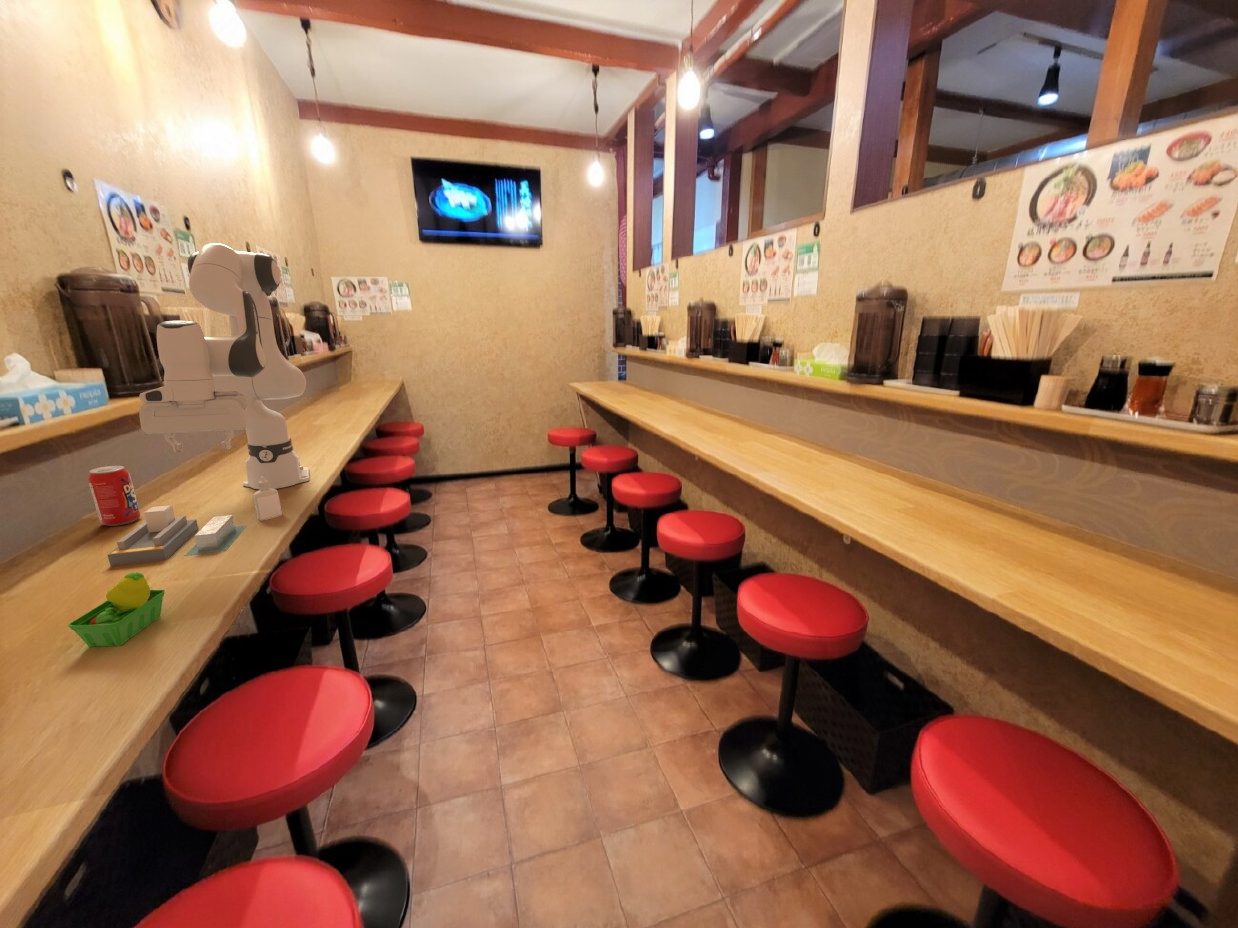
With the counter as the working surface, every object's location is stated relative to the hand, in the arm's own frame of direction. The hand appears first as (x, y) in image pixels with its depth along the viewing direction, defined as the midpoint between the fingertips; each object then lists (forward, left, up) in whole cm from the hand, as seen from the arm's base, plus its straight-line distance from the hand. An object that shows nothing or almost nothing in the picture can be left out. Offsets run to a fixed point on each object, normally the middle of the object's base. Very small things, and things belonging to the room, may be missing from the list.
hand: (203, 450), depth 120 cm
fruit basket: (+40, -2, -23) cm, 47 cm away
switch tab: (-3, -13, -20) cm, 24 cm away
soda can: (-20, -29, -23) cm, 42 cm away
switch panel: (+1, -13, -23) cm, 26 cm away
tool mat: (+1, -1, -23) cm, 23 cm away
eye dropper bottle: (-12, +7, -23) cm, 27 cm away
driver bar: (+1, -1, -23) cm, 23 cm away
